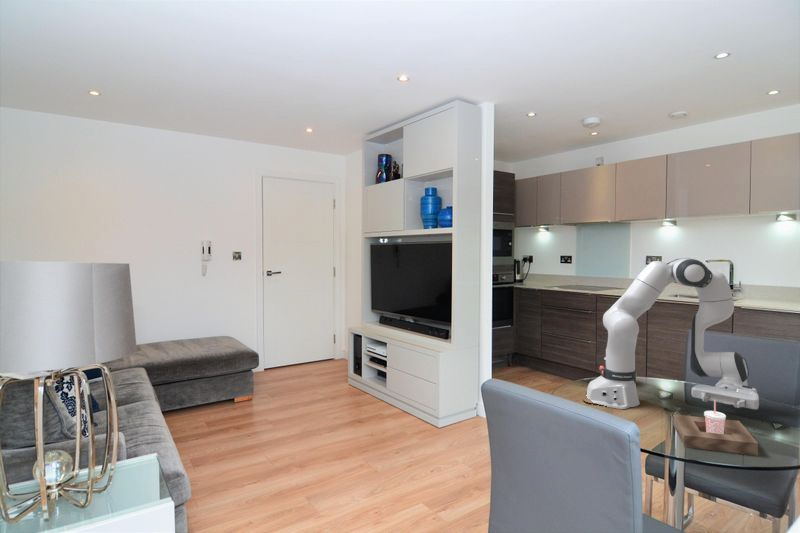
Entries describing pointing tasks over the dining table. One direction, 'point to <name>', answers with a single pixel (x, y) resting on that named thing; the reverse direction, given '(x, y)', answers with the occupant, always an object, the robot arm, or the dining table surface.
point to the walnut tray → (714, 436)
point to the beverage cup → (714, 421)
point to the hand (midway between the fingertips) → (720, 402)
